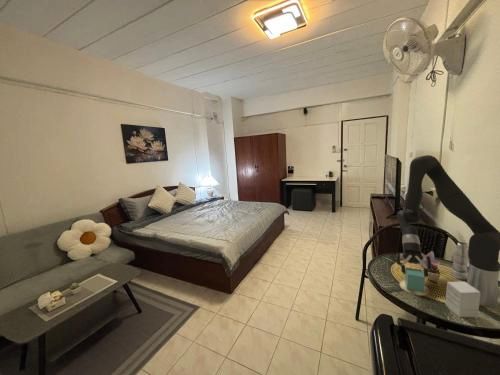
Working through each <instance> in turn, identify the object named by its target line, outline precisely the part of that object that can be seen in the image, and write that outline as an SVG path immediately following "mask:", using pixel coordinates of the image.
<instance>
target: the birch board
mask: <svg viewBox="0 0 500 375" xmlns="http://www.w3.org/2000/svg"><path fill="white" fill-rule="evenodd" d="M399 287H400V288H401V289H402V290H403V291H405V292H407V293H409V294H412V295H414V296H415V295H416V296H427V295H429V294H430V290H429V288H428V287H427V286H426V285H425V284H424V293H422V292H417V291H412V290H407V288H406V284H405V279H402V280H401V281H399Z"/></svg>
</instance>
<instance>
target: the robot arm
mask: <svg viewBox="0 0 500 375" xmlns="http://www.w3.org/2000/svg"><path fill="white" fill-rule="evenodd" d="M408 175H409V176H408V184H407V185H408V186H407V192H406V195H405V199H404V201H403V202H404V203H403V206H404V208H406V209H409V210H403V209H402V210H401V209H400V210H399V211H397V213H396V219H397V221H398V224H399V226H400V228H401V232H402V233H401V234H402V237H401V238H402V239H401V240H402V242H401V244H402V251H403V253H400V252H397V253H396V265H398V266H400V270H401V273H402V274H403V275H405V273H406V272H405V268H406V266H405V265H406V264H407V263H408V264H415V265H419V267H421V268H422V272H423V274H424V276H425V278H428V276H429V270H431V268H432V265H431V260H430V257H429V256H427V257H423V256H422V255H421V253H422V248H421V241H420V238H419V232H418V231H419V230H418V228H417V226H415V225H416V224H418V223H419V221H420V217H421V216H420V205H421V203H422V199H423V187H422V183H423V179H424V178H425V176H427V177H428V178H429V179H430V180H431V182H432V183H433V185H434V189H435V193H436V196H437V198H438V200H439V201H440V203H441V204H442V205H443V206H444V208H445V209H446V210H447V211H448V212H450V213H451V214H452V215H453V216H455V217H457V218H458V219H459V220H461V221H462V222H463V223H465V224H466V225H467V227H468V228H469V229H470V231H471V232H472V233H473V235H471V236H470V238H469V239H468V240H469V241H468V246H467V250H468V257H469V260H468V267H467V273H468V276H467V279H466V283H468V284H469V285H471V286H472V287H474V288H475V289H476V290H478V291H479V292H481V294H480V302H479V306H482V307H487V308H488V307H489V308H491V307H492V308H497V304H498V298H499V291H500V287H499V286H498V284H499V279H500V262H499V258H500V256H499V255H500V231H499V230H498V229H497V228H496V227H495V226H494V225H493V224H491V222H489V221H488V219H486V217H485V216H484V215H483V214H482V212H480V211H479V209H478V208H477V207H476V206H475V204H474V203H473V202H472V201H471V200H470V198H469V197H468V196H467V195H466V193H465V192H463V190H462V189H461V188H460V187H459V186H458V185H457V183H456V182H455V181H454V180H453V179H452V178H451V177H450V175H449V174H448V173H447V172H446V170H445V168H444V167H443V166H442V164H441V163H440V161H439V160H438V159H437V158H436V157H435V156H434V155H431V154H429V155H427V154H426V155H421V156H417V157H415V158H413V159H412V160H411V161H410V165H409V174H408ZM412 224H413V225H412ZM402 257H403V259H404V260H403V262H401V258H402ZM422 259H424V260H425V261H426V262H427V266H426V265H425V264H424V263H423V262H422V261H421V260H422ZM428 269H429V270H428Z"/></svg>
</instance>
